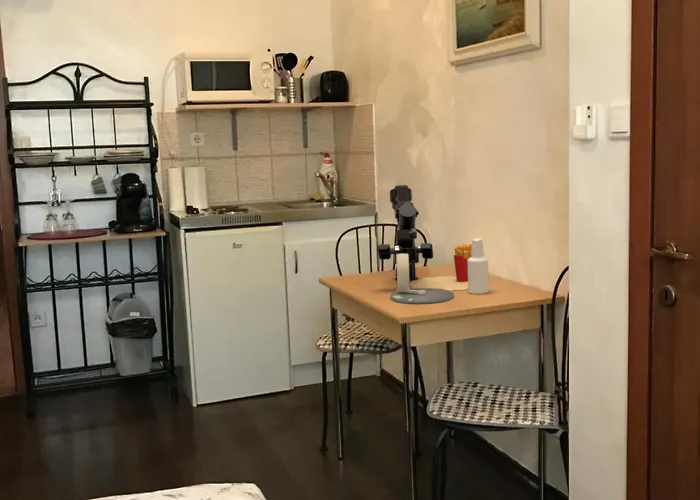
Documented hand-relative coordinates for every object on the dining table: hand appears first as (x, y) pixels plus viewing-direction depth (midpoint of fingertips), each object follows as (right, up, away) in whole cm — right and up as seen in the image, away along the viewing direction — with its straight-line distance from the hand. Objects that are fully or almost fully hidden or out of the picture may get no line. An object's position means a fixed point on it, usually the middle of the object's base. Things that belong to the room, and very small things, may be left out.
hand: (404, 271), depth 264 cm
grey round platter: (+5, -8, -5) cm, 11 cm away
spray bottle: (+25, -7, -2) cm, 26 cm away
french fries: (+24, -4, +19) cm, 31 cm away
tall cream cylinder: (+1, -7, -2) cm, 7 cm away
